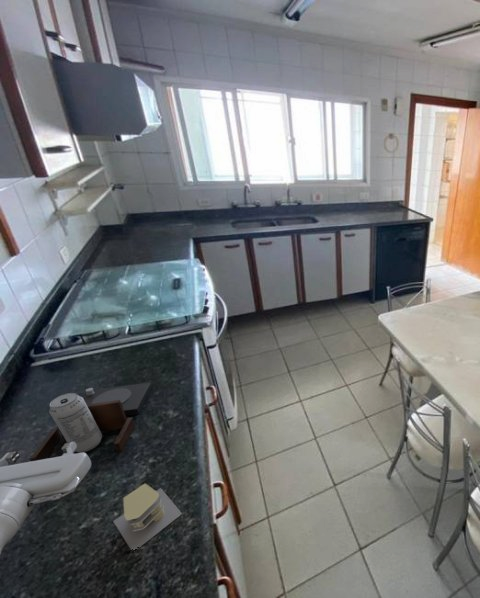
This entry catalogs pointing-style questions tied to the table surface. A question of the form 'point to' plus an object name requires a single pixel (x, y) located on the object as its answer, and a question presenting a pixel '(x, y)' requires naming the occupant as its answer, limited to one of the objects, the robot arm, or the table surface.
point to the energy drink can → (75, 421)
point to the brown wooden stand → (106, 420)
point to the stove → (121, 396)
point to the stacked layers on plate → (145, 515)
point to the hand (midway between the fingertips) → (43, 448)
